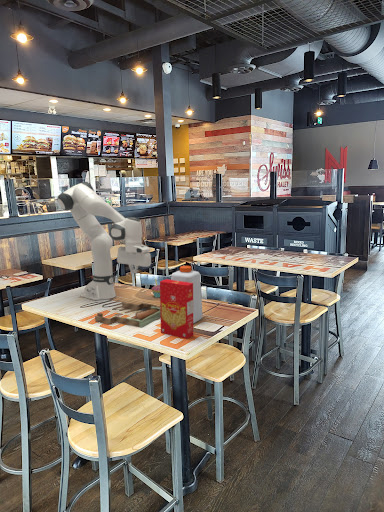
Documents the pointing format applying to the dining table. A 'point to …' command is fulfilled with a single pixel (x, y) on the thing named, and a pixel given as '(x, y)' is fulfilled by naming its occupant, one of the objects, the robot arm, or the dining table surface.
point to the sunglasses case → (144, 314)
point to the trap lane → (129, 320)
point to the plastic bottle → (193, 277)
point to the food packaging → (176, 308)
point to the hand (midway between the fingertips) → (133, 273)
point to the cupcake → (156, 290)
